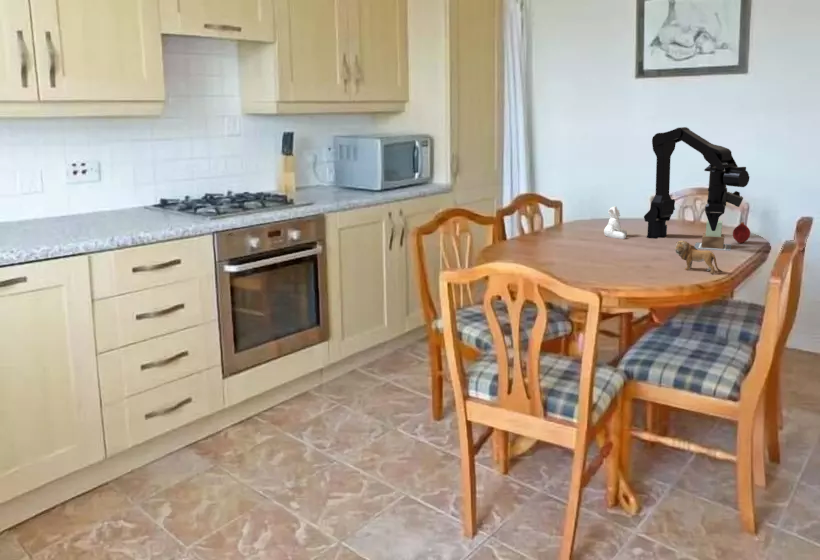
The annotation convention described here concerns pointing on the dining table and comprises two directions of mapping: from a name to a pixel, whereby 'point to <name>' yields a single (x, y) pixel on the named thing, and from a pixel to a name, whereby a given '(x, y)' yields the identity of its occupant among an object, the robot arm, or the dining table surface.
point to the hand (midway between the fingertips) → (714, 228)
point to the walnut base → (712, 241)
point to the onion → (741, 233)
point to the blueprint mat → (726, 248)
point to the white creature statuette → (614, 225)
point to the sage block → (717, 232)
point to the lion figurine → (695, 255)
